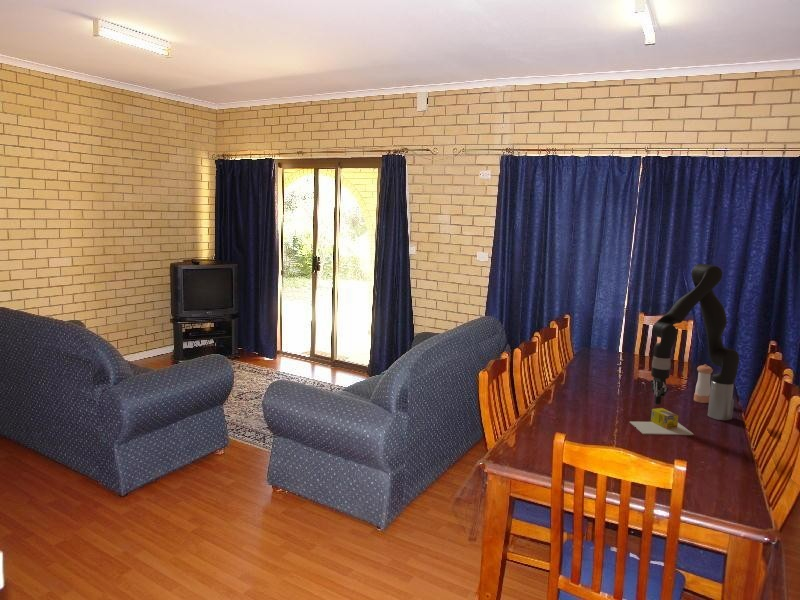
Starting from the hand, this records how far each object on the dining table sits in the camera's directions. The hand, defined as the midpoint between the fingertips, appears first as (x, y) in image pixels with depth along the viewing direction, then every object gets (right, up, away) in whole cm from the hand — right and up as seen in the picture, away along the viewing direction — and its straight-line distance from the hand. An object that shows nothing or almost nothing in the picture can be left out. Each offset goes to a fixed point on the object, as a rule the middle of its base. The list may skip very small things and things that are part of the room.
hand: (657, 403), depth 259 cm
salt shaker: (+38, -5, +35) cm, 52 cm away
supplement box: (0, -5, +3) cm, 6 cm away
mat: (-1, -10, -6) cm, 11 cm away
